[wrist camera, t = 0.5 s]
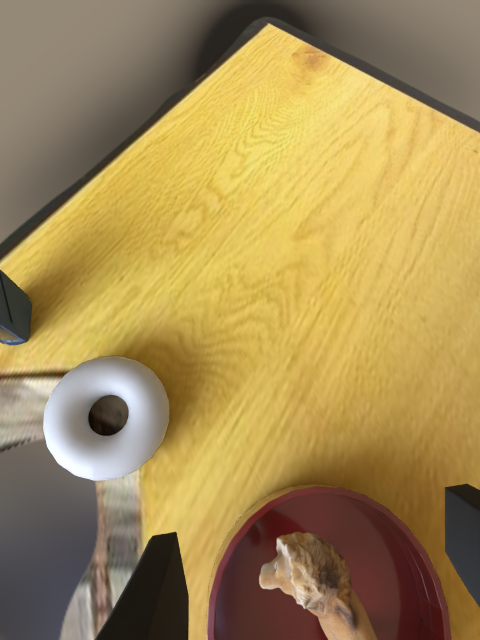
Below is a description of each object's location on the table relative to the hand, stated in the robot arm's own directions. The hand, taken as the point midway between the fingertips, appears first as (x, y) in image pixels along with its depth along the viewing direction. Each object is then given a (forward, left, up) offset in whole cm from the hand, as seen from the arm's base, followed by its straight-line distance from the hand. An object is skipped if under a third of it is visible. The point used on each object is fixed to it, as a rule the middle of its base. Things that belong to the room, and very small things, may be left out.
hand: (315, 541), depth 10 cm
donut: (+7, +10, -24) cm, 27 cm away
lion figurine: (-9, -5, -24) cm, 26 cm away
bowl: (-9, -5, -24) cm, 26 cm away
